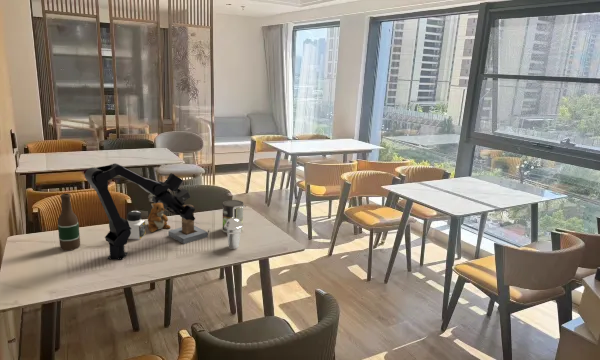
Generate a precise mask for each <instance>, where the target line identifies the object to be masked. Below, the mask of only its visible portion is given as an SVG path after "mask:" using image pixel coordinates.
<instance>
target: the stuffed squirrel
mask: <svg viewBox="0 0 600 360" xmlns="http://www.w3.org/2000/svg"><path fill="white" fill-rule="evenodd" d="M150 205H151V207H152V208H151V209H150V212H149V215H148V217H147V222H148V224H147V225H148V230H149V232H151V233H155V232H156V231H157V230H162V229H163V230H164V229H167V230H168V229H171V225H169V224H168V220H169V219H168V216H167V215H166V214H164V213H165V212H166V213H167V212H168V211H167V210H165V209H164V207H163V203H161V202H158V203H155V202H154V203H151V204H150Z"/></svg>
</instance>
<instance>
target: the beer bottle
mask: <svg viewBox="0 0 600 360" xmlns="http://www.w3.org/2000/svg"><path fill="white" fill-rule="evenodd" d="M60 199H61V213H60V214H59V217H58V219H57V229H58V230H57V231H58V239H59V247H60V249H61V250H62V251H74V250H77V249H79V248H80V246H81V238H80V237H81V236H80V235H81V234H80V225H79V224H80V223H79V218H78V216H77V215H76V213H75V212H74V211H73V208H72V207H73V206H72V201H71V194H70V193H62V194H60Z"/></svg>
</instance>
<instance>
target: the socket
mask: <svg viewBox="0 0 600 360" xmlns="http://www.w3.org/2000/svg"><path fill="white" fill-rule="evenodd" d="M208 234H209V232H208V231H206V230H204V229H203V228H201V227H198V226H196V225H194V233H191V234H188V235H185V234H183V233H182V226H181V227H177V228H174V229H170V230H168V237H170V238H172V239H174V240H176V241H177V242H179V243H182V244H183V245H185V244H188V243H193V242H195V241H199V240H202V239H204V238H205V239H206V238H208V236H209V235H208Z"/></svg>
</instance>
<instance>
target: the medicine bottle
mask: <svg viewBox="0 0 600 360" xmlns="http://www.w3.org/2000/svg"><path fill="white" fill-rule="evenodd" d="M126 217H127V219H126V220H127V221H128V223H129V226H130V228H131V229H130V230H131V234H130V236H129V238H128V240H138V241H139V240H141V239H142V238H143V237H145V235H146V220H145V219H142V212H141V211H138V210H132V211H128V212H127V214H126Z"/></svg>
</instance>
